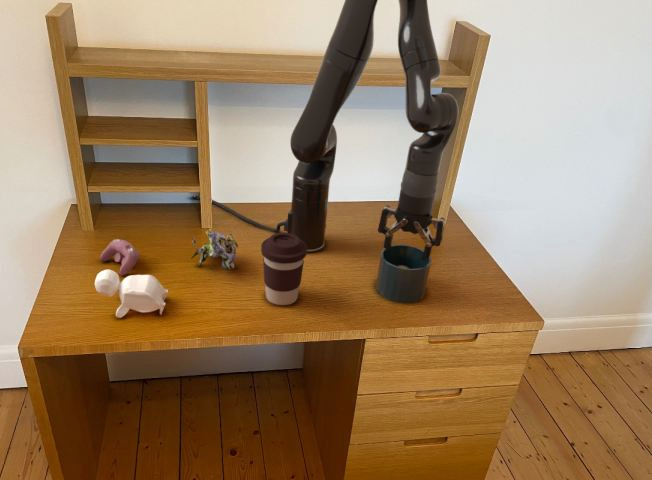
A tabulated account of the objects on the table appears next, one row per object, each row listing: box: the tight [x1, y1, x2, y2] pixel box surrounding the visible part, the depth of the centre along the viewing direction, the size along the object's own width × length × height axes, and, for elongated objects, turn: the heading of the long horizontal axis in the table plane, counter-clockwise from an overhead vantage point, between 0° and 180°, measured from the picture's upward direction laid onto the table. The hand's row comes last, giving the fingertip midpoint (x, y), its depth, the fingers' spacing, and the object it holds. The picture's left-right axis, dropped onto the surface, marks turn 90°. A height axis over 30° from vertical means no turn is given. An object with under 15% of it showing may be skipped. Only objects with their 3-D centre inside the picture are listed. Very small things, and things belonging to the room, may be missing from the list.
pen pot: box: [375, 243, 432, 304], centre depth 137 cm, size 12×12×9 cm
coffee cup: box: [260, 232, 308, 306], centre depth 130 cm, size 10×10×15 cm
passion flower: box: [190, 227, 239, 272], centre depth 141 cm, size 11×11×12 cm
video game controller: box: [99, 238, 140, 277], centre depth 140 cm, size 10×5×7 cm, turn 47°
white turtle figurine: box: [94, 268, 169, 319], centre depth 125 cm, size 9×8×15 cm
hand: (406, 254), depth 135 cm, fingers open, 8 cm apart
